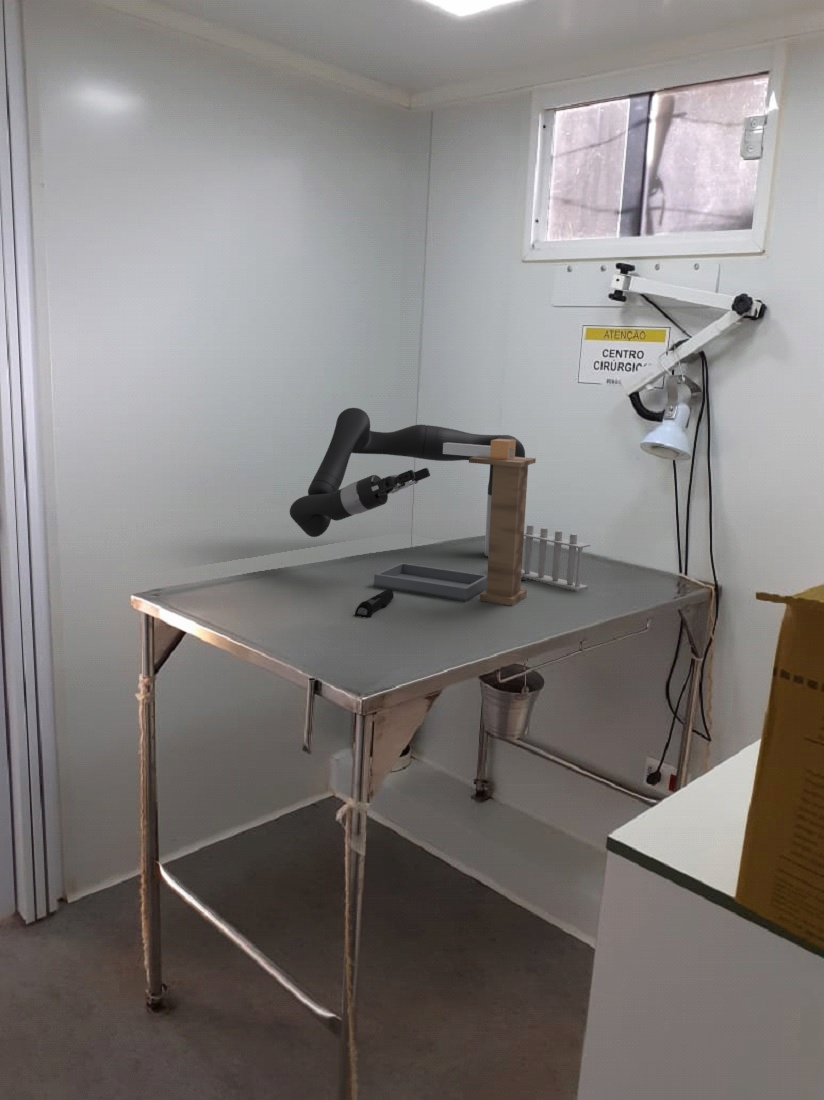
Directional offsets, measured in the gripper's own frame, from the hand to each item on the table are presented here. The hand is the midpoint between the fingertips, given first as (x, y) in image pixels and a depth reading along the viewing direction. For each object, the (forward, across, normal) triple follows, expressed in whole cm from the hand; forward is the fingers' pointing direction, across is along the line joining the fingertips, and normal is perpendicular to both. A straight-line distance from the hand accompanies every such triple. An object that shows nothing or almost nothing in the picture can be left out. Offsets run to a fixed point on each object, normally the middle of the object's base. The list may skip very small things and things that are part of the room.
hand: (421, 472), depth 201 cm
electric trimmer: (-12, +21, -26) cm, 36 cm away
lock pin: (+15, +1, -1) cm, 15 cm away
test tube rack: (+11, -23, -34) cm, 42 cm away
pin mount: (+7, -1, -33) cm, 34 cm away
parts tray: (-8, -1, -26) cm, 27 cm away
